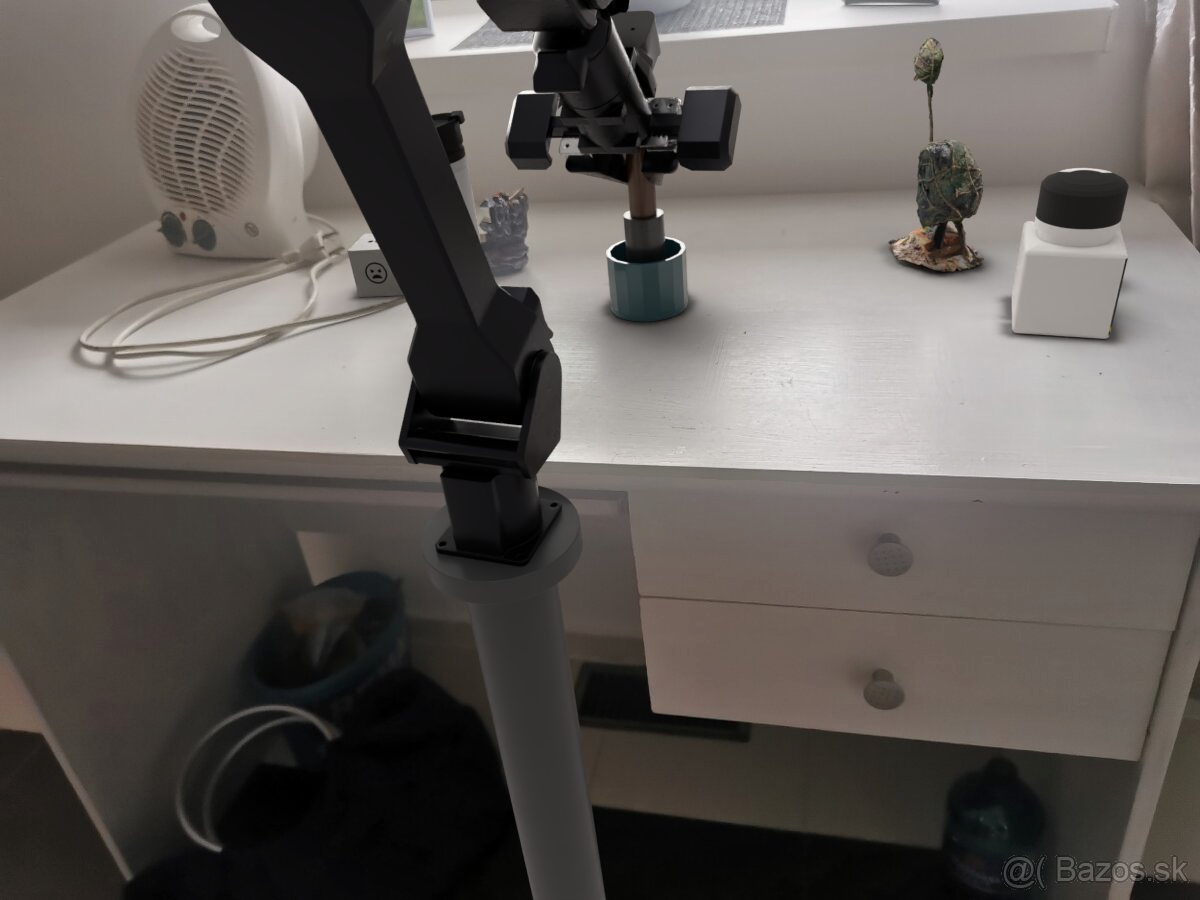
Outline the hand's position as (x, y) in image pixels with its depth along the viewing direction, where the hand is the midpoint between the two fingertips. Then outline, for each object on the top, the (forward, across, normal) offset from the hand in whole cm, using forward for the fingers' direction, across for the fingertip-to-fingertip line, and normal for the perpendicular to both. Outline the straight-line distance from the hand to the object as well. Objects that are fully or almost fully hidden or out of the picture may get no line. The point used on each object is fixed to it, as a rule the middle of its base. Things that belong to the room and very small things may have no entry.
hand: (646, 180), depth 81 cm
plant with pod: (+17, -25, -1) cm, 30 cm away
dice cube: (+8, +29, +8) cm, 31 cm away
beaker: (+7, 0, +9) cm, 11 cm away
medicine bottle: (+9, -35, +8) cm, 37 cm away
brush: (+4, 0, +6) cm, 7 cm away
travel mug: (-1, +14, +17) cm, 22 cm away
